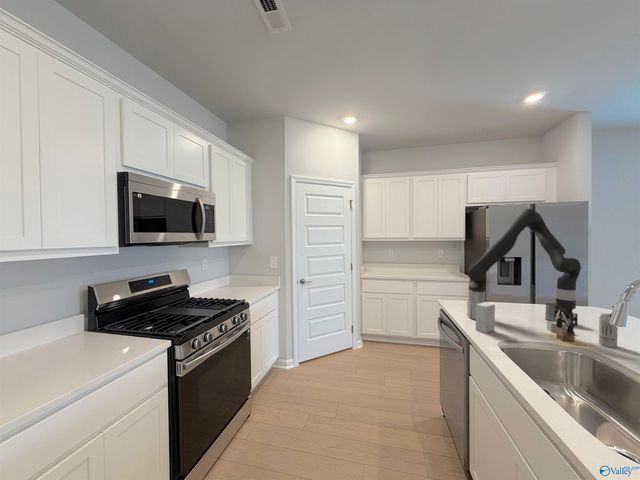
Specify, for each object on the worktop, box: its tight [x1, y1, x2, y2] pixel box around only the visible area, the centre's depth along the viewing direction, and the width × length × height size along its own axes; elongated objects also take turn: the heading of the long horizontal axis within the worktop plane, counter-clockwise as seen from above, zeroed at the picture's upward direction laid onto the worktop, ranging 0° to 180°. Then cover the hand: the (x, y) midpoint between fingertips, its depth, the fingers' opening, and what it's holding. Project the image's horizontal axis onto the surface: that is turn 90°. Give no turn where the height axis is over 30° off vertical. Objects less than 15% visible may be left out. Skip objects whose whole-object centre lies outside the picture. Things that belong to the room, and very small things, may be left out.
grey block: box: [546, 320, 567, 333], centre depth 151 cm, size 7×4×5 cm, turn 77°
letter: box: [539, 332, 596, 350], centre depth 139 cm, size 14×18×1 cm
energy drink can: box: [598, 312, 618, 349], centre depth 132 cm, size 6×6×15 cm
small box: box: [545, 302, 567, 325], centre depth 166 cm, size 11×6×10 cm, turn 179°
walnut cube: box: [555, 327, 576, 342], centre depth 139 cm, size 5×5×5 cm
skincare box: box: [475, 301, 496, 334], centre depth 153 cm, size 8×6×15 cm
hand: (564, 330), depth 139 cm, fingers open, 8 cm apart
